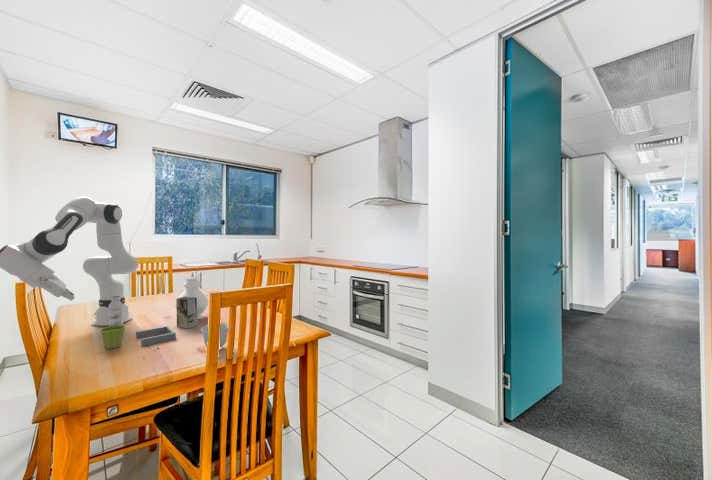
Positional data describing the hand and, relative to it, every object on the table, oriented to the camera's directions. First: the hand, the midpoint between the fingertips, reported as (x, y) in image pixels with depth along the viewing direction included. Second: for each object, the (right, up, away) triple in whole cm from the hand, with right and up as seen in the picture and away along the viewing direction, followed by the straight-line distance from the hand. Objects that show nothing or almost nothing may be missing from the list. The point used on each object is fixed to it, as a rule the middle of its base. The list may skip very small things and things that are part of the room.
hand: (73, 297), depth 135 cm
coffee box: (+28, -24, +40) cm, 54 cm away
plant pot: (+11, -25, +8) cm, 28 cm away
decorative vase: (+23, -23, +55) cm, 64 cm away
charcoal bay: (+23, -24, +20) cm, 39 cm away
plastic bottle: (+1, -24, +24) cm, 34 cm away
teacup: (+58, -25, +8) cm, 64 cm away
